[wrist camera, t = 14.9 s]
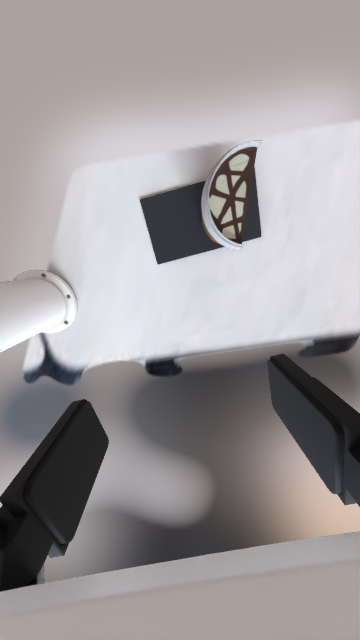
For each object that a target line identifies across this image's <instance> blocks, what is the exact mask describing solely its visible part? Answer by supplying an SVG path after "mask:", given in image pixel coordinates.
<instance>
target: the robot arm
mask: <svg viewBox="0 0 360 640" xmlns="http://www.w3.org/2000/svg"><path fill="white" fill-rule="evenodd" d="M70 296H71V297H70ZM76 314H77V300H76V297H75V295H74V292H73V291H72V289H71V288H70V286H69V285H68V284H67V283H66V282H65V281H64V280H63V279H62V278H60V277H59V276H57V275H55V274H53V273H51V272H48V271H43V270H30V271H26V272H23V273H21V274H19V275H18V276H17V277H16V278H15V279H14V280H13V281H7V282H0V352H2V351H4V350H6V349H8V348H10V347H12V346H14V345H16V344H18V343H20V342H22V341H24V340H26V339H28V338H30V337H32V336H34V335H36V334H38V333H40V332H44V333H54V332H59V331H61V330H63V329H65V328H67V327H68V326H69V325H71V323H72V322H73V321H74V319H75V317H76ZM267 364H268V372H269V381H270V390H271V399H272V405H273V407H274V410H275V411H276V413H277V414H278V416H279V417H280V419H281V420H282V421H283V423H284V424H285V426H286V427H287V429H288V430H289V432H290V433H291V435H292V436H293V438H294V439H295V440H296V442H297V443H298V445H299V446H300V448H301V449H302V451H303V452H304V454H305V455H306V457H307V458H308V460H309V461H310V462H311V464H312V466H313V467H314V469H315V470H316V472H317V473H318V474H319V476H320V477H321V479H322V480H323V482H324V483H325V485H326V486H327V488H328V489H329V490H330V491H331V493H333V494H338V496H339V497H340V499H341V500H342V502H343V503H344V505H348V504H354V503H357V504H358V505H359V506H360V413H358V412H357V411H356V410H355V409H353V408H352V407H351V406H349V405H348V404H347V403H346V402H345V401H343V400H342V399H341V398H340V397H339V396H337V395H336V394H335V393H334V392H332V391H331V390H330V389H329V388H328V387H326V386H325V385H324V384H322V383H321V382H320V381H319V380H317V379H316V378H314V377H311V376H310V375H309V374H307V373H306V372H305V371H304V370H303V369H301V368H300V367H299V366H298V365H297V364H295V363H294V362H293V361H292V360H291V359H289V358H288V357H287V356H286V355H284V354H279V355H275V356H271V358H270V360H268V361H267ZM108 444H109V440H108V437H107V435H106V433H105V431H104V429H103V427H102V425H101V423H100V421H99V419H98V417H97V415H96V413H95V411H94V409H93V407H92V405H91V403H90V402H89V401H87V400H85V399H83V400H78V401H74V402H72V403H71V404H70V405H69V407H68V408H67V410H66V411H65V412H64V413H63V415H62V416H61V417H60V419H59V420H58V421H57V423H56V424H55V425H54V427H53V428H52V429H51V431H50V432H49V433H48V435H47V436H46V437H45V438H44V440H43V441H42V442H41V444H40V445H39V446H38V448H37V449H36V450H35V452H34V453H33V454H32V456H31V457H30V458H29V460H28V461H27V462H26V464H25V465H24V466H23V467H22V469H21V470H20V471H19V473H18V474H17V475H16V477H15V478H14V479H13V481H12V482H11V483H10V485H9V486H8V487H7V489H6V490H5V491H4V493H3V494H2V495H1V496H0V502H1V503H2V504H3V505H2V507H1V508H0V640H360V532H352V533H344V534H337V535H331V536H323V537H317V538H309V539H301V540H294V541H288V542H283V543H276V544H271V545H264V546H258V547H252V548H246V549H240V550H234V551H227V552H221V553H216V554H209V555H203V556H197V557H191V558H186V559H180V560H174V561H168V562H162V563H156V564H150V565H145V566H139V567H133V568H127V569H122V570H116V571H110V572H105V573H98V574H93V575H88V576H82V577H76V578H70V579H65V580H60V581H54V582H48V583H45V579H44V562H45V560H46V558H47V555H48V556H49V557H50V558H52V557H58V556H64V554H65V552H66V549H67V547H68V544H69V542H70V541H71V540H72V539H73V537H74V535H75V533H76V530H77V527H78V525H79V522H80V519H81V516H82V514H83V511H84V509H85V506H86V503H87V500H88V498H89V495H90V493H91V490H92V487H93V484H94V482H95V479H96V477H97V474H98V471H99V469H100V466H101V463H102V461H103V458H104V456H105V453H106V450H107V447H108Z"/></svg>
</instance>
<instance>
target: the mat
mask: <svg viewBox="0 0 360 640" xmlns="http://www.w3.org/2000/svg"><path fill="white" fill-rule="evenodd" d="M205 182H206V181H203V182H200V183H196V184H193V185H189V186H186V187H182V188H179V189H176V190H172V191H169V192H165V193H162V194H158V195H155V196H151V197H148V198H144V199H141V200H140V202H141V205H142V209H143V213H144V216H145V220H146V223H147V227H148V231H149V234H150V238H151V241H152V245H153V249H154V252H155V256H156V259H157V263H158V264H161V263H165V262H169V261H172V260H176V259H180V258H184V257H187V256H191V255H195V254H199V253H202V252H206V251H210V250H214V249H217V248H221V247H225V246H223V245H220V244H217V243H216V242H214V241H212V240H211V239H210V238H209V237H208V235H207V234H206V232H205V230H204V228H203V224H202V208H201V202H202V193H203V188H204V185H205ZM259 237H261V227H260V217H259V208H258V198H257V188H256V178H255V168H254V170H253V176H252V184H251V192H250V199H249V204H248V209H247V214H246V219H245V225H244V231H243V239H242V242H244V241H247V240H251V239H255V238H259Z"/></svg>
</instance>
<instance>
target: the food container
mask: <svg viewBox="0 0 360 640" xmlns="http://www.w3.org/2000/svg"><path fill="white" fill-rule="evenodd" d="M261 142H262V140H253V141H248V142H245V143H243V144H240V145H237V146H236V147H234V148H232V149H231V150H229V151H228V152H227V153H226V154H225V155H224V156H223V157H222V158H221V159H220V160H219V161H218V162H217V163H216V164H215V166H214V167H213V168H212V170H211V172H210V173H209V175H208V177H207V179H206V182H205V185H204V188H203V193H202V202H201V208H202V224H203V228H204V230H205V232H206V234H207V235H208V237H209V238H210V239H211V240H212V241H214V242H216V243H217V244H220V245H223V246H225V247H226V248H229V249H232V250H237V251H239V250H240V249H242V247H243V246H244V245H243V244H242V239H243V231H244V225H245V219H246V214H247V209H248V204H249V199H250V192H251V184H252V176H253V170H254V164H255V158H256V151H257V148H258V147H259V145H260V143H261Z"/></svg>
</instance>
